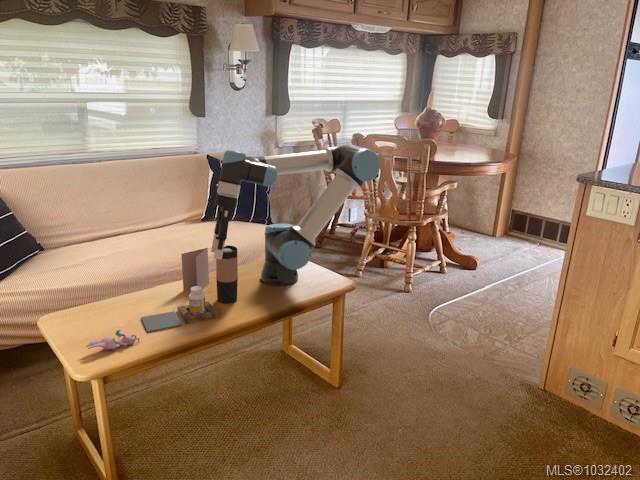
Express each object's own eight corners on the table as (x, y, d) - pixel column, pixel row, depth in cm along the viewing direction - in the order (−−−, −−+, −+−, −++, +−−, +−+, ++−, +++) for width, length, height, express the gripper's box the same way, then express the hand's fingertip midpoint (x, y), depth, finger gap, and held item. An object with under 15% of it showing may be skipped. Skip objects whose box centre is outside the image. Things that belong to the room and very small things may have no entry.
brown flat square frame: (208, 305, 185) (208, 301, 184) (218, 317, 176) (217, 313, 175) (177, 310, 180) (177, 306, 179) (186, 323, 170) (185, 319, 170)
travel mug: (233, 305, 185) (233, 253, 178) (213, 302, 186) (212, 251, 180) (240, 296, 192) (240, 246, 186) (221, 293, 194) (220, 244, 187)
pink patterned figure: (133, 341, 161) (83, 348, 151) (134, 323, 160) (84, 329, 150) (141, 349, 157) (90, 357, 147) (142, 331, 156) (91, 338, 146)
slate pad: (174, 312, 178) (174, 311, 178) (182, 325, 169) (182, 324, 169) (141, 318, 173) (141, 317, 173) (147, 332, 164) (147, 331, 164)
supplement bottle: (198, 309, 181) (197, 283, 178) (209, 313, 178) (207, 287, 175) (186, 314, 177) (184, 288, 174) (197, 319, 174) (195, 292, 171)
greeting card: (207, 282, 205) (206, 247, 200) (218, 288, 200) (217, 251, 195) (182, 290, 197) (180, 253, 192) (192, 296, 192) (190, 258, 187)
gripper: (213, 192, 188) (203, 248, 190) (219, 195, 164) (207, 259, 166) (234, 195, 190) (223, 251, 192) (242, 199, 166) (230, 263, 168)
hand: (216, 255), depth 179 cm, fingers open, 13 cm apart
